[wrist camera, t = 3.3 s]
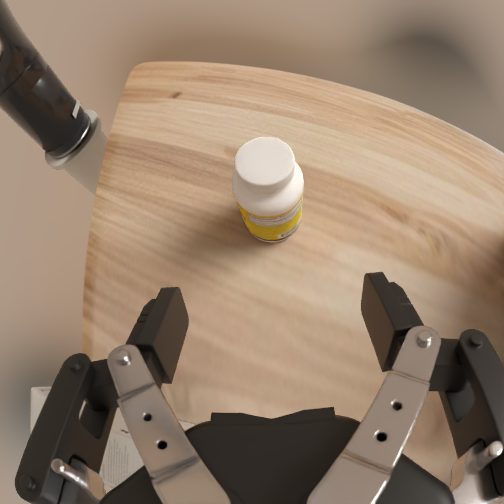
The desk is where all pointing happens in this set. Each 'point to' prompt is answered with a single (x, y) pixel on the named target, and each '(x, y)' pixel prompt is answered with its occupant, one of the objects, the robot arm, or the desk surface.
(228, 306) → the desk surface
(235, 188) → the supplement bottle
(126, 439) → the cosmetic box
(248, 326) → the desk surface
